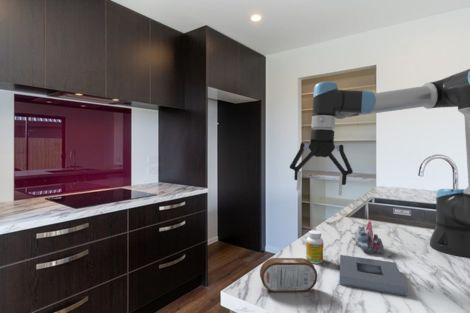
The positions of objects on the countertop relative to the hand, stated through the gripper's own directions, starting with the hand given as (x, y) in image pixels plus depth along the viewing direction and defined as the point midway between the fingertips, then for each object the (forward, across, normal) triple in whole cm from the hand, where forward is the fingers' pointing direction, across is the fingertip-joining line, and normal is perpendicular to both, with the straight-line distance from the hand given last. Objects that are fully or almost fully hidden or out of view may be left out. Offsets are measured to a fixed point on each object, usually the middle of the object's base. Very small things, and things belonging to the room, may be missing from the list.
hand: (318, 192), depth 91 cm
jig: (+22, +17, -6) cm, 29 cm away
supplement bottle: (+23, 0, -1) cm, 23 cm away
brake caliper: (+22, +17, +18) cm, 33 cm away
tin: (+24, -3, -24) cm, 34 cm away
